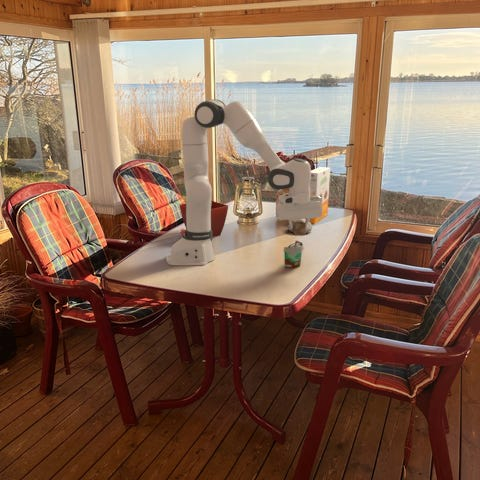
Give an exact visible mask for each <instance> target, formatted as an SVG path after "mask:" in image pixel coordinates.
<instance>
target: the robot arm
mask: <svg viewBox="0 0 480 480" xmlns="http://www.w3.org/2000/svg"><path fill="white" fill-rule="evenodd" d="M219 125H225V126H226V127H227V128H228V129H229V130H230V131H231V133H232V135H233V136H234V138H235V139H236V141H238V142H239V143H240V144H241V145H242V146H243V147H245V148H247V149H250V150H252V151H254V152H256V153H257V154H258V156H260V157H261V159H262V161H264V163H265V164H266V166H267V167H268V169H269V173H268V175H267V183H268V185H269V186H270V187H271V188H272V189H274V190H277V191H278V190H287V189H289V192H287V193H284V194H280V195H279V196H278V197H277V198H278V202H277V204H276V208H275V217H276V219H278V221H284V220H285V221H288V224H289V223H290V228H291V229H295V225H294V224H292V221H293V219H304V218H305V220H306V221H305V224H306V228H307V224H308V223H309V221H310V218H320V217H321V216H322V206H321V205H322V198H321V197H319V196H316V197H313V196H312V197H310V182H311V171H312V168H311V164H310V162H309V161H307V160H306V159H303V158H297V157H296V158H293V159H291V160H290V161H288V162H285V161H284V160H282V159H281V157H280V156H279V155H278V154H277V152H276V151H275V150H274V148H273V147H272V146H271V144H270V143H269V141H268V140H267V138H266V135H265V134H264V132H263V130H262V128H261V126H260V124H259V123H258V121H257V120H256V118H255V117H254V115H253V114H252V113H251V112H250V111H249V110H248V108H247V107H246V106H245V105H244V104H243V103H242V102H240V101H232V102H229V103H228V104H226V103H224V102H223V101H221V100H220V99H216V98H214V99H206V100H205V101H202V102H200V103H199V104H198V105H197V106H196V107H195V109H194V115H193V116H190V117H187V118H186V119H184V120H183V122H182V126H181V128H182V129H181V149H182V162H183V183H184V190H185V195H186V197H185V198H186V203H185V204H186V222H187V229H186V228H185V229H184V228H181V229H180V234H181V235H182V237H181V238H180V239H179V240H178V241H176V242H175V243H173V244H172V246H171V247H170V248H171V249H170V253H168V254H167V255H166V257H165V261H166V263H167V264H168V265H170V266H205V265H206V264H208V263H210V262H212V261H214V260H215V259H216V257H215V254H214V249H213V243H212V241H213V237H212V229H211V201H212V197H213V196H212V195H213V194H212V193H213V189H212V185H211V183H210V180H209V178H210V177H209V160H210V159H209V148H208V147H209V145H208V142H209V141H208V131H209V130H210V129H211V128H215V127H218V126H219ZM319 198H320V199H319Z"/></svg>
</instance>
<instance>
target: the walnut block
mask: <svg viewBox="0 0 480 480" xmlns="http://www.w3.org/2000/svg"><path fill="white" fill-rule="evenodd" d="M292 224H294V225H295V229H292V231H293V232H294V233H293V232H292V231H291V232H292V233H293V234H294V235H295V236H297V237H301V236H302V237H303V236H306V233H305V229H306V224H305V223H304V222H303V221H302V220H301V219H296V220H293V221H292Z"/></svg>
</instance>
